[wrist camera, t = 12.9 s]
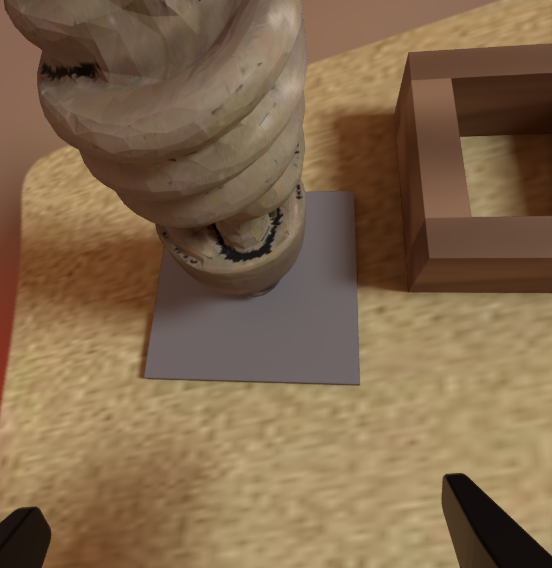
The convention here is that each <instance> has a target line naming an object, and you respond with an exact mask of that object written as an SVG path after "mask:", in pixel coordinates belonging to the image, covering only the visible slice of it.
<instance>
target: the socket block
mask: <svg viewBox="0 0 552 568" xmlns="http://www.w3.org/2000/svg"><path fill="white" fill-rule="evenodd" d="M394 115H395V127H396V140H397V153H398V166H399V178H400V191H401V204H402V216H403V229H404V242H405V255H406V267H407V280H408V292H522V293H552V216H518V217H471V210H470V203H469V197H468V190H467V183H466V176H465V169H464V163H463V156H462V149H461V142H460V136H481V135H507V134H533V133H552V44H536V45H520V46H504V47H488V48H471V49H455V50H439V51H423V52H409V53H408V57H407V61H406V66H405V70H404V74H403V79H402V83H401V87H400V92H399V96H398V100H397V105H396V109H395V113H394Z"/></svg>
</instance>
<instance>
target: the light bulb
mask: <svg viewBox="0 0 552 568" xmlns="http://www.w3.org/2000/svg"><path fill="white" fill-rule="evenodd" d="M4 5H5V10H6V12H7V14H8V15H9V17H10V19H11V20H12V22H13V24H14V26H15V27H16V28H17V29H18V30H19V31H20V32H21V33H22V35H23V36H24V37H25V38H26V39H27V40H28V41H30V42H31V43H33V44H34V45H36V46H37V47H39V48H40V49H41V50H42V55H41V59H40V63H39V67H38V72H37V77H38V78H37V86H38V93H39V99H40V103H41V106H42V109H43V112H44V115H45V117H46V118H47V120H48V122H49V123H50V125H51V126H52V128H53V129H54V131H55V132H56V134H57V135H58V136H59V137H60V138H61V139H63V140H64V141H65V142H67V143H68V144H69V145H71V146H73V147H75V148H77V149H79V151H80V154H81V156H82V159H83V161H84V163H85V165H86V166H87V168H88V169H89V170H90V172H91V173H92V175H93V176H94V177H95V178H96V179H98V180H99V181H100V182H101V183H103V184H104V185H106V186H107V187H109V188H111V189H112V190H114V191H116V193H117V195H118V196H119V197H120V199H121V200H122V201H123V203H124V204H125V205H126V206H127V207H128V208H130V209H131V210H132V211H133V212H134V213H136V214H137V215H139V216H141V217H143V218H145V219H147V220H149V221H150V222H153V223H155V224H156V230H157V234H158V235H159V237H160V239H161V241H162V243H163V245H164V246H165V247H166V248H167V250H168V251H169V253H170V254H171V256H172V257H173V259H174V260H175V261H176V262H177V263H178V264H179V265H180V266H181V267H182V268H183V269H184V270H185V271H186V272H187V273H188V274H189V275H190V276H191V277H192V278H193V279H195V280H196V281H197V282H198V283H199V284H201V285H203V286H205V287H206V288H208V289H211V290H214V291H217V292H220V293H224V294H234V295H243V294H247V295H249V296H253V297H258V296H263V295H265V294H267V293H268V292H270V291H271V290H272V289H274V288H275V287H276V285H277V284H278V283H279V281H280V279H281V278H282V277H284V276H285V275H286V274H287V273H288V272H289V270H290V269H291V268H292V267H293V265H294V263H295V262H296V260H297V258H298V255H299V253H300V251H301V248H302V245H303V241H304V234H305V223H306V197H305V189H304V185H303V183H302V181H301V175H302V167H303V159H304V152H305V141H304V133H303V119H304V112H305V99H304V92H303V88H304V85H305V79H306V71H307V63H308V51H307V40H306V31H305V26H304V20H303V18H302V16H301V14H302V5H303V0H4Z"/></svg>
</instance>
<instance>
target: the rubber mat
mask: <svg viewBox="0 0 552 568" xmlns="http://www.w3.org/2000/svg"><path fill="white" fill-rule="evenodd" d="M305 197H306V223H305V234H304V241H303V245H302V248H301V251H300V253H299V255H298V258H297V260H296V262H295V263H294V265H293V267H292V268H291V269H290V270H289V272H288V273H287V274H286V275H285V276H284V277H282V278H281V279H280V281H279V283H278V284H277V285H276V287H275V288H274V289H272V290H271V291H270V292H268V293H267V294H265V295H263V296H258V297H253V296H249V295H247V294H243V295H234V294H224V293H220V292H217V291H214V290H211V289H208V288H206V287H205V286H203V285H201V284H199V283H198V282H197V281H196V280H195V279H193V278H192V277H191V276H190V275H189V274H188V273H187V272H186V271H185V270H184V269H183V268H182V267H181V266H180V265H179V264H178V263H177V262H176V261H175V260H174V259H173V257H172V256H171V254H170V253H169V251H168V250H167V248H166V247H165V246H164V250H163V257H162V263H161V270H160V276H159V283H158V289H157V296H156V302H155V309H154V315H153V322H152V328H151V335H150V341H149V348H148V354H147V361H146V367H145V374H144V378H147V379H168V380H201V381H234V382H266V383H299V384H332V385H360V368H359V336H358V303H357V271H356V239H355V207H354V191H319V192H305Z"/></svg>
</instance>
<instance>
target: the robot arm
mask: <svg viewBox="0 0 552 568" xmlns="http://www.w3.org/2000/svg"><path fill="white" fill-rule="evenodd" d="M442 508H443V512H444V516H445V519H446V522H447V526H448V529H449V532H450V536H451V539H452V542H453V546H454V549H455V552H456V556H457V559H458V562H459V565H460V568H552V556H551V555H550V554H549V553H548V552H547V551H546V550H545V549H544V548H543V547H542V546H541V545H540V544H539V543H538V542H536V541H535V540H534V539H533V538H532V537H531V536H530V535H529V534H528V533H527V532H526V531H525V530H524V529H523V528H522V527H521V526H520V525H518V524H517V523H516V522H515V521H514V520H513V519H512V518H511V517H510V516H509V515H508V514H507V513H506V512H505V511H504V510H503V509H501V508H500V507H499V506H498V505H497V504H496V503H495V502H494V501H493V500H492V499H491V498H490V497H489V496H488V495H487V494H486V493H485V492H483V491H482V490H481V489H480V488H479V487H478V486H477V485H476V484H475V483H474V482H473V481H472V480H471V479H470V478H469V477H468V476H466V475H465V474H463V473H453V474H445V475H444V476H443V482H442ZM50 540H51V529H50V527H49V525H48V523H47V521H46V519H45V518H44V516H43V514H42V512H41V510H40V509H39V508H38V507H22V508H19V509H17V510H15V511H14V512H12V513H11V514H10V515H9V516H8V517H7V518H5V519H4V520H3V521H2V522H1V523H0V568H42V565H43V562H44V559H45V556H46V553H47V550H48V547H49V544H50Z"/></svg>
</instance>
